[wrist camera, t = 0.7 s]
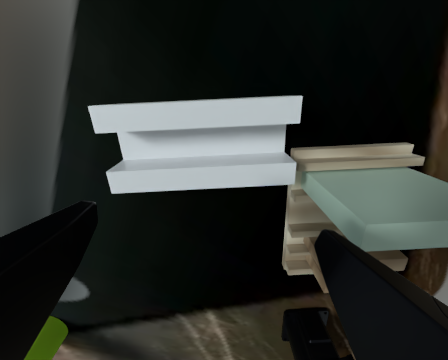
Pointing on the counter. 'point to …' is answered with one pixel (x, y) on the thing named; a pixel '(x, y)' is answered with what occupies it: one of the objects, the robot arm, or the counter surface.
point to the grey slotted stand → (200, 143)
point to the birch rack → (309, 211)
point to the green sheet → (382, 206)
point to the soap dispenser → (48, 340)
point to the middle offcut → (388, 257)
